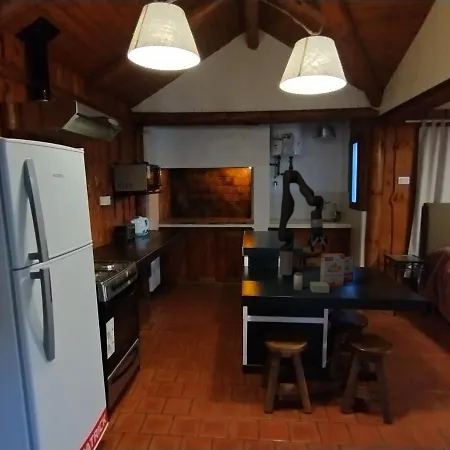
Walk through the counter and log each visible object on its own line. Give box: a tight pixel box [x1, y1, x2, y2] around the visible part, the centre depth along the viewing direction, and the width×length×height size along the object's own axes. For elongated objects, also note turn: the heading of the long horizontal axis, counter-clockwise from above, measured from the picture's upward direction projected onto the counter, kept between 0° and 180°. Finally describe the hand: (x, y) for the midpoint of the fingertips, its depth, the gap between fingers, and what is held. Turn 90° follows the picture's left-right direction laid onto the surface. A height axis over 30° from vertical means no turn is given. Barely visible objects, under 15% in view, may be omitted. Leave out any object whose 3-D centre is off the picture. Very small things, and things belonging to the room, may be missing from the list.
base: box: [309, 281, 330, 294], centre depth 239 cm, size 10×10×4 cm
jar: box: [293, 272, 303, 291], centre depth 241 cm, size 5×5×10 cm
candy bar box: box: [343, 256, 355, 283], centre depth 262 cm, size 11×5×16 cm, turn 112°
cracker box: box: [319, 253, 346, 288], centre depth 249 cm, size 14×6×21 cm, turn 101°
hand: (318, 251), depth 247 cm, fingers open, 8 cm apart
